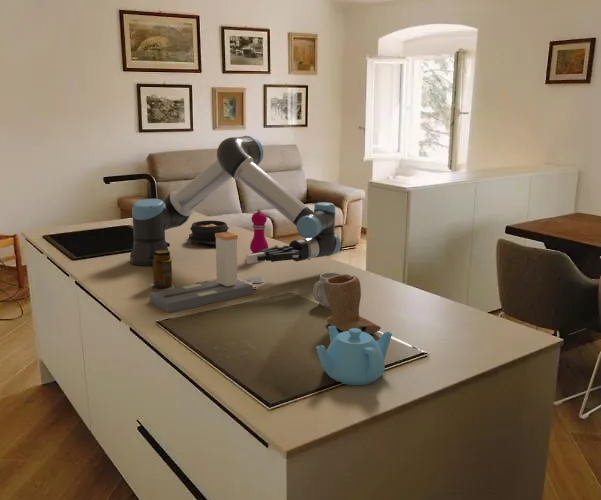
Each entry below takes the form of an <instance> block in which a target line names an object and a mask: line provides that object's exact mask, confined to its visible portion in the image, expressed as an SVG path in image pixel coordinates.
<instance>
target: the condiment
mask: <svg viewBox="0 0 601 500" xmlns="http://www.w3.org/2000/svg"><path fill="white" fill-rule="evenodd" d="M172 270H173V269H172V259H171V252H170V251H169V249H168V250H157V251H155V252H154V259H153V266H152V274H153V275H152V278H153V283H152V282H151V283H150V286H151V288H152V290H153V292H158V291H164V290H169V289H174V288H176V286H175V285H174V283H173V271H172Z"/></svg>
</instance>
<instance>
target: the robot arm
mask: <svg viewBox="0 0 601 500" xmlns="http://www.w3.org/2000/svg"><path fill="white" fill-rule="evenodd" d="M216 149H217V150H216V158H217V159H216V160H215V161H214V162H212V163H211V164H210V165H209V166H207V167H206V168H205V169H203V170H202V171H201V172H200V173H199V174H198V175H197V176H196V177H194V178H193V179H192V180H191V181H190V182H188V183H187V184H186V185H184V186H183V187H182V189H180V190H179V191H178V190H177V191H176V190H174V191H171V192H170V193H169V194H168V195H167V196H165V197H164V198H163V199H159V198H147V199H140V200H138V201H136V202H134V203H133V205H132V209H131V210H132V212H131V216H132V230H133V231H132V232H133V233H132V234H133V245H132V248H131V252H130V256H129V262H130V264H132V265H134V266H138V267H139V266H141V267H153V259H154V252H155V251H157V250H168V251H169V247H168V245H167V243H166V236H165V233H166V231H167V230H171V229H174V228H178V227H180V226H182V225H184V224H186V222H187V221H189V219H190V216H191V215H192V214H193V213H194V208H196V207H197V206H198V205H199V204H200V203H202V202H203V201H204V200H206V199H207V198H208V197H209V196H210V195H212V194H213V193H214V192H216V190H218V189H220V188H221V186H223V185H224V184H225V183H227V182H228V181H229V180H230V179H232V178H233V179H234V180H240V181H241V182H242V183H244V184H245V185H246V186H247V187H248V188H250V189H251V190H252V191H253V192H255V193H256V194H257V195H258V196H259V197H260V198H262V199H263V200H265V201H266V202H267V203H268V204H269V205H271V206H272V207H273V208H274V209H275V210H276V211H277V212H278V213H280V214H281V215H282V216H284V218H286V219H287V220H288V221H290V222H291V223H292V224H293V225H295V226H296V231H297V234H298V235H299V236H301V237H302V238H300V239H299V238H298V239H294V240H292V241H290V243H289V245H283V246H279V245H277V244H275V245H273V246H272V247H268V248H267V249H263V250H260V253H255V254H252V253H249V254H246V263H247V264H249V265H251V264H255V263H260V262H266V261H267V262H269V261H270V262H271V263H274V262H284V261H292V260H293V261H294V262H301V261H306V260H308V261H311V259H315V258H316V259H317V258H322V257H329V256H333V255H335V254H338V253H339V252H340V250H341V247H342V242H341V239H340V237H339V236H338V235H337V234H336V233H335V229H336V226H335V225H336V206H335V204H334V203H332V202H316V203H314V207H313V210H312V209H310V208H309V207H308V206H307V205H306V204H304V203H303V202H302V201H301V200H300V199H299V198H298V197H296V196H295V195H294V194H293V193H292V192H290V191H289V190H287V189H286V188H285V187H284V186H283V185H282V184H280V183H279V182H278V181H277V180H276V179H275V178H273V177H272V176H270V175H269V174H268V173H267V172H266V171H264V170H263V168H261V167H260V166H259V165H260V164H261V162H262V161H263V159H264V147H263V145H262V143H261V142H260V141H259V140H258V139H257V138H256V137H255V136H250V135H243V136H234V137H233V136H232V137H228V138H225V139H224V140H222V142H220V143H219V145H218V147H217V148H216Z"/></svg>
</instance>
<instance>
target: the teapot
mask: <svg viewBox="0 0 601 500" xmlns="http://www.w3.org/2000/svg"><path fill="white" fill-rule="evenodd" d="M327 329H328V335H329V342H330V343H329V345H328V347H327V348H326V347H325V345H322V344H321V345H317V346H315V349H316V351H317V355H318V359H319V362H320V365H321V369H323V370H324V371H325V373H326V374H327V375H328V376H329V378H330V379H332V378H333V379H335V380H338V381H340V382H342V383H341V384H343V383H344V384H343V385H347V386H365V385H369V384H372V383H374V382H376V381H377V380H378V379H379V378H380V377H381V376H382V375H383V374H384V372H385V368H386V367H385V358H386V355H387V351H388V349H389V346H390V342H391V338H392V336H393V333H392V332H391V331H384V332H383V334H382V335H381V336H380V338H379V340H378V341H376V340H375V338H374V336H372V334H371V335H370V334H368V333H365V332H361V330H360V329H357V328H352V329H349V331H345V332H343V331H340V332H339V331H338V329H337V328H336V327H335V326H332V325H329V326H328V327H327ZM333 379H332V380H333ZM335 380H334V381H335Z"/></svg>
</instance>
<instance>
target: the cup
mask: <svg viewBox="0 0 601 500" xmlns="http://www.w3.org/2000/svg"><path fill="white" fill-rule="evenodd" d="M336 275H343V274H341V273H339V272H322V273H321V274H320V275H319V280H318V281H316V282H315V283H314V285H313V289H312V295H313V298H314V300H315V301H316V302H319V304H320V305H321V306H322V307H328V308H331V307H330V305H329V302H328V300H327V298H326V295H325V291H324V282H325V280H326V279H327V278H329V277H333V276H336Z"/></svg>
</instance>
